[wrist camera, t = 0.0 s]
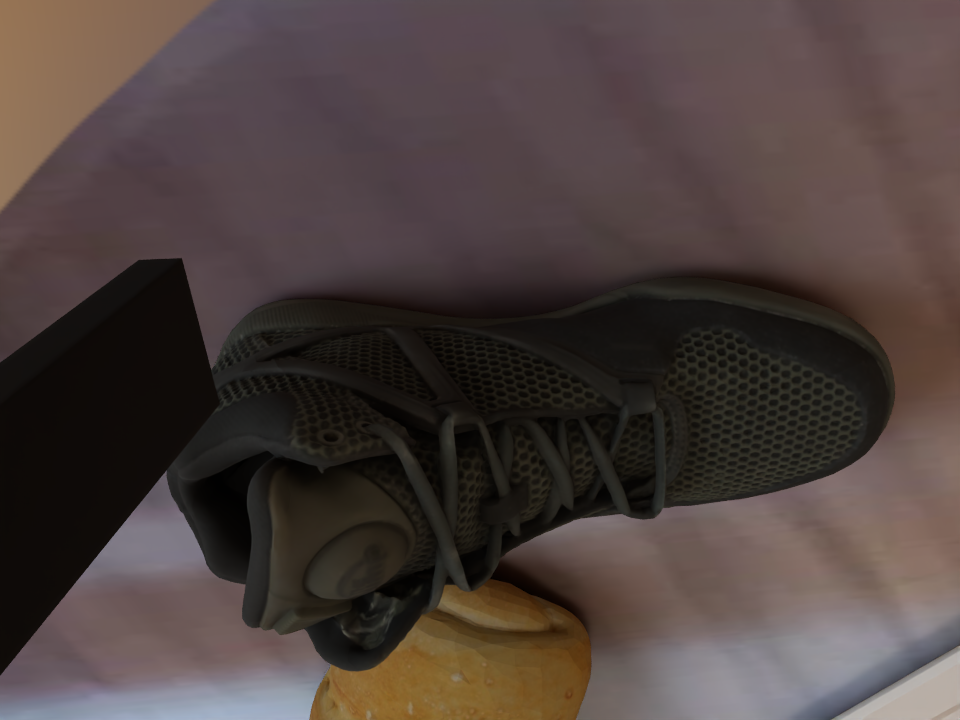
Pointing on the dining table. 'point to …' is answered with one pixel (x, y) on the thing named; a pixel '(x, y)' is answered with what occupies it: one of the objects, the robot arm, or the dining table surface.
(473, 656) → the bread
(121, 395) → the robot arm
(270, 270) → the dining table surface
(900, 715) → the plate
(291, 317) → the sneaker
